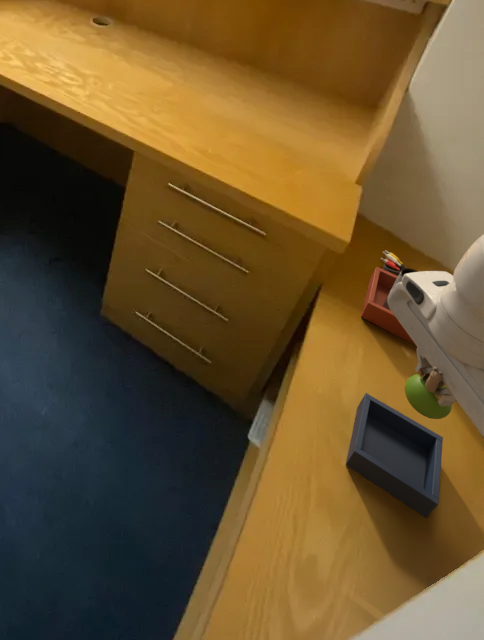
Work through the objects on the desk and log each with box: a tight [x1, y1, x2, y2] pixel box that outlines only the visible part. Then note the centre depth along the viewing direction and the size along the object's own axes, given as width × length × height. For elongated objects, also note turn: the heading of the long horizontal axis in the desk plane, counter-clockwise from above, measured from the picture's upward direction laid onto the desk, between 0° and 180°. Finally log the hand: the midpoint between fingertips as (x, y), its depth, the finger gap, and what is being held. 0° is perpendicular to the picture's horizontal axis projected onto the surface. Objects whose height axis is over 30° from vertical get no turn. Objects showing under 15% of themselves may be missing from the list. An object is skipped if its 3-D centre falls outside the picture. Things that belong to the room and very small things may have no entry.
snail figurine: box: [404, 367, 453, 420], centre depth 72 cm, size 5×6×12 cm
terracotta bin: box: [360, 266, 416, 346], centre depth 101 cm, size 11×11×5 cm
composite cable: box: [380, 249, 407, 276], centre depth 109 cm, size 10×5×2 cm, turn 42°
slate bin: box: [345, 392, 444, 519], centre depth 79 cm, size 11×11×5 cm
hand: (431, 387), depth 72 cm, fingers closed on snail figurine
